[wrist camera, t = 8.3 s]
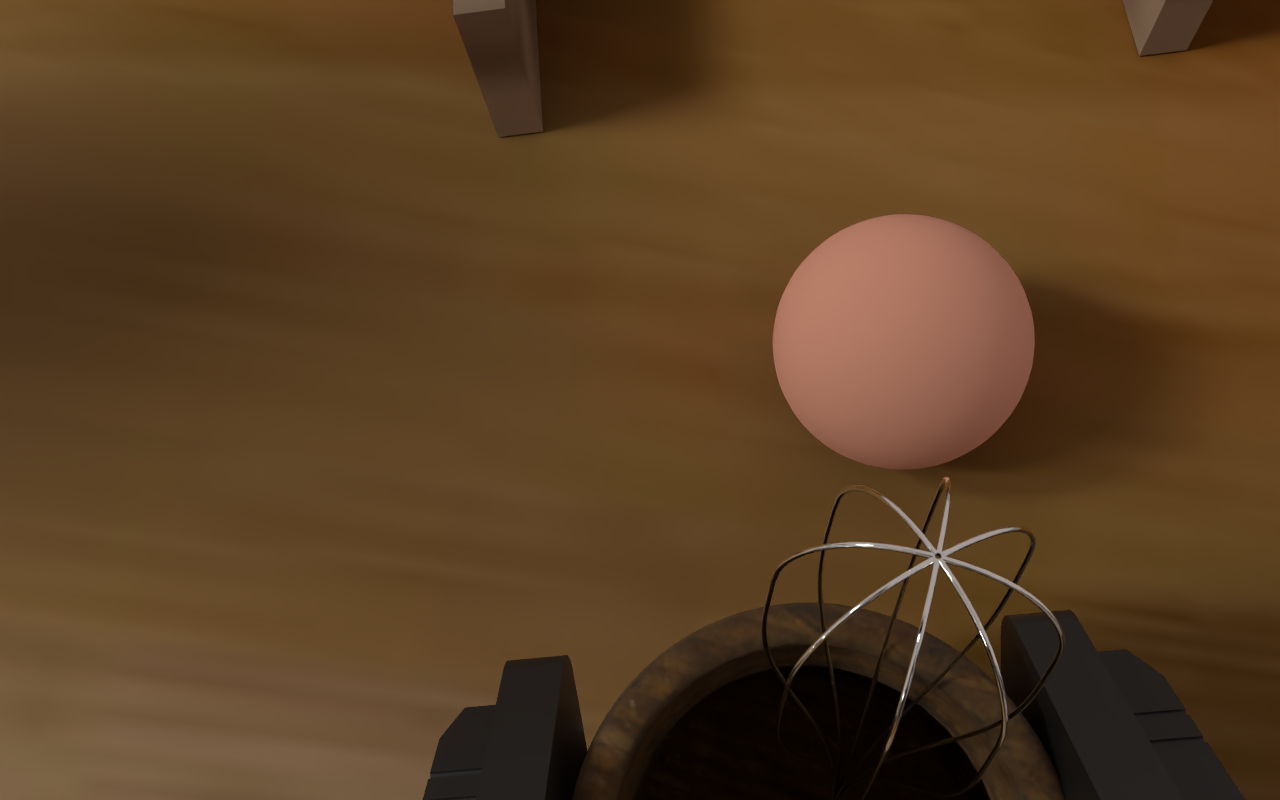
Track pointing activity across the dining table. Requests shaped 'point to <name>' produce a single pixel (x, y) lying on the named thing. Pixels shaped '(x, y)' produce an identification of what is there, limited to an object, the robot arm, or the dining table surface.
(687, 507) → the dining table surface
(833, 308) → the ball
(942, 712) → the utensil holder
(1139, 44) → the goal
